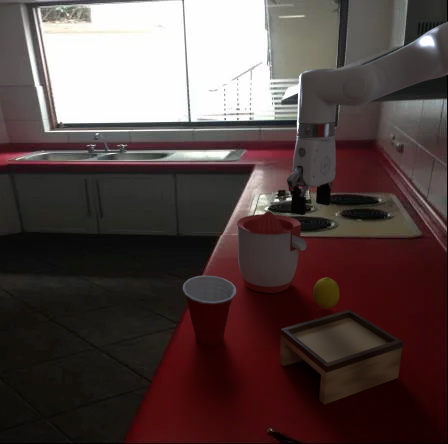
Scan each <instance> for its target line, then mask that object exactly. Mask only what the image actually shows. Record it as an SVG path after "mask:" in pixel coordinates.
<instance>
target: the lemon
mask: <svg viewBox="0 0 448 444" xmlns="http://www.w3.org/2000/svg"><path fill="white" fill-rule="evenodd" d="M312 296H313V301H314V302H315V304H316V305H318V307H319V308H322V309H323V310H328V309H331V308H333V307H335V306H336V305H337V304H338V303H339V299H340V288H339V285H338V283H337V282H336V281H335V280H333V279H332V278H330V277H327V276H326V277H322V278H320V279H319V280H317V282H316V283H315V284H314V287H313V291H312Z"/></svg>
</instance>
